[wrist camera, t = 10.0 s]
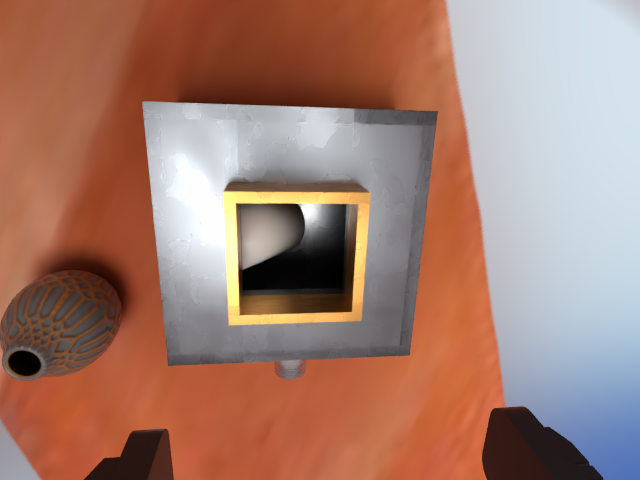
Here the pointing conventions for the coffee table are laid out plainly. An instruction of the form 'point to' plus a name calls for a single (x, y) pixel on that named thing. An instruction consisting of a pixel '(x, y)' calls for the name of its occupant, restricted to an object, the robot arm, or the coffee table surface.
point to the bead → (269, 230)
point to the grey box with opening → (319, 237)
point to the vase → (59, 325)
